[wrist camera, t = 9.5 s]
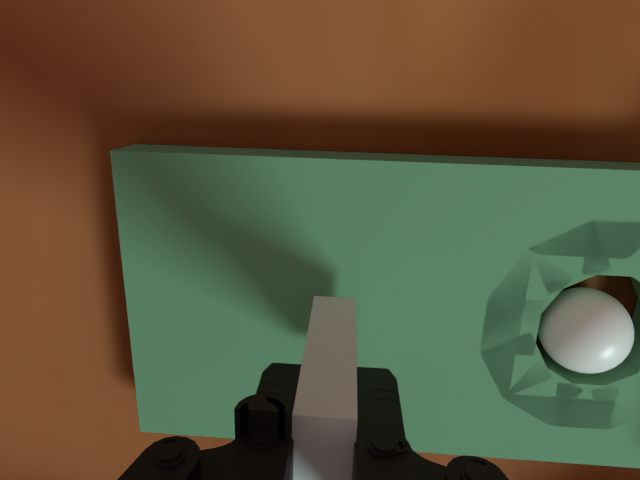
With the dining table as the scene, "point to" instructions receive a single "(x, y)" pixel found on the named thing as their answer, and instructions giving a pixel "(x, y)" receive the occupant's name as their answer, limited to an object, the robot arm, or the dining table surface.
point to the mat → (380, 287)
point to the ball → (586, 330)
